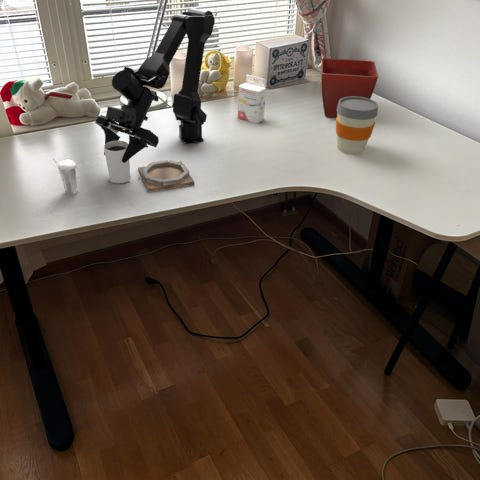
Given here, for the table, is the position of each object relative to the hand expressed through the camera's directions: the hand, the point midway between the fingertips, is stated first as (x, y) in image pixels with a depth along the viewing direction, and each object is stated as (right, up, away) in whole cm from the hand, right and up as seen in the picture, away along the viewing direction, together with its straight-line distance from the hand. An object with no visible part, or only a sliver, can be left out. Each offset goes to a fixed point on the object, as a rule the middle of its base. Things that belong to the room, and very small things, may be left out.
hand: (114, 159), depth 143 cm
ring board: (+13, -4, +6) cm, 15 cm away
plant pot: (+72, +25, +51) cm, 92 cm away
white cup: (0, -5, +5) cm, 7 cm away
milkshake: (-12, -9, -2) cm, 15 cm away
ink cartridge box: (+38, +21, +44) cm, 62 cm away
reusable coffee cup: (+70, +7, +26) cm, 75 cm away
